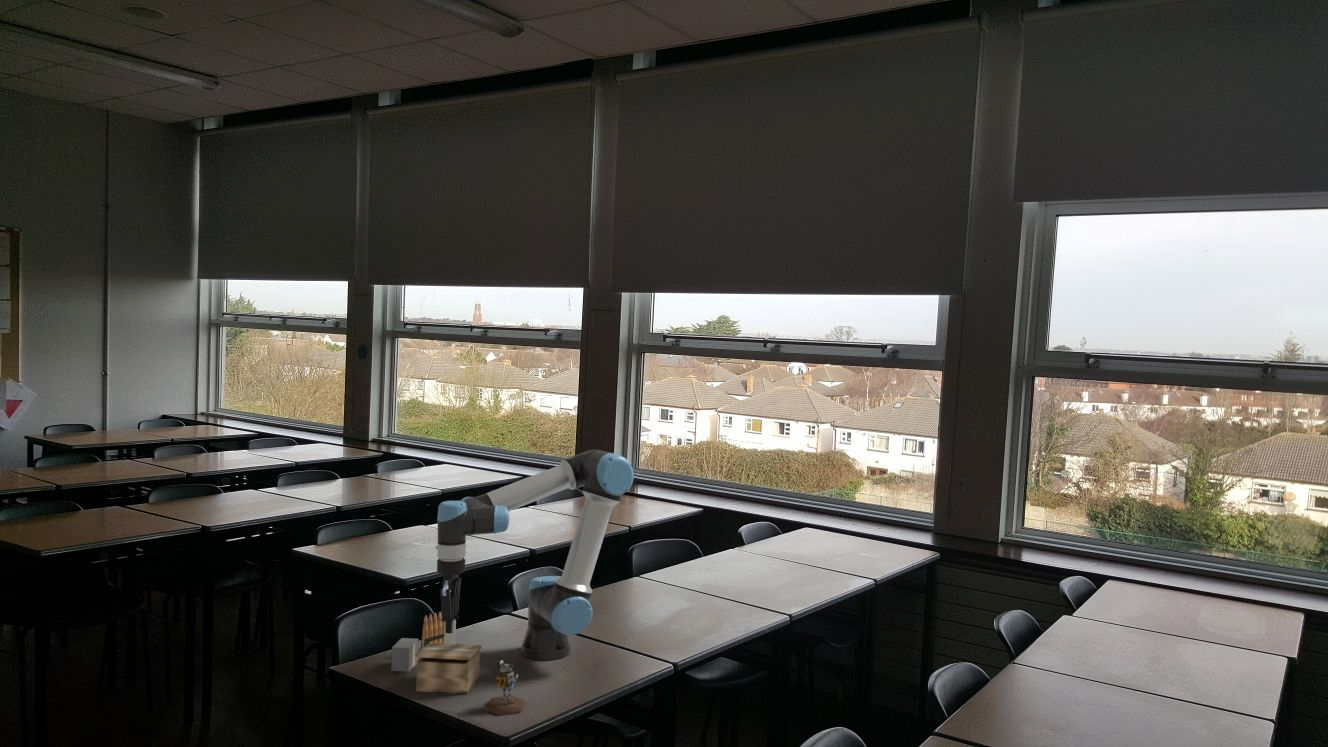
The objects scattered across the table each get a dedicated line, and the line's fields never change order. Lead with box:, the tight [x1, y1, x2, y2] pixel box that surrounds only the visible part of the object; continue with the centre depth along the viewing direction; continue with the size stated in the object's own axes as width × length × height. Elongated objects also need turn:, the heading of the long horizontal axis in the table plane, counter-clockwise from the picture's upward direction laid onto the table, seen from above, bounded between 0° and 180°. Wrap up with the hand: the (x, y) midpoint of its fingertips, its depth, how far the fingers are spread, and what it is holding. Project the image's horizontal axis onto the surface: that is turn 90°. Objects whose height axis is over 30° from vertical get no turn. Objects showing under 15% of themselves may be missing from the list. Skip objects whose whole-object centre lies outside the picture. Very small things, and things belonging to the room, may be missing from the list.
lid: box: [415, 643, 482, 660], centre depth 234 cm, size 15×13×1 cm
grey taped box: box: [390, 637, 419, 673], centre depth 246 cm, size 5×8×7 cm, turn 178°
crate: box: [415, 649, 481, 694], centre depth 235 cm, size 14×12×8 cm
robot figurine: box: [484, 660, 527, 717], centre depth 221 cm, size 11×9×12 cm
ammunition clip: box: [420, 611, 445, 650], centre depth 260 cm, size 11×2×12 cm, turn 143°
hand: (449, 643), depth 234 cm, fingers closed
